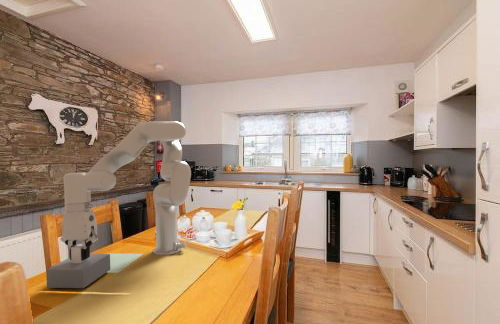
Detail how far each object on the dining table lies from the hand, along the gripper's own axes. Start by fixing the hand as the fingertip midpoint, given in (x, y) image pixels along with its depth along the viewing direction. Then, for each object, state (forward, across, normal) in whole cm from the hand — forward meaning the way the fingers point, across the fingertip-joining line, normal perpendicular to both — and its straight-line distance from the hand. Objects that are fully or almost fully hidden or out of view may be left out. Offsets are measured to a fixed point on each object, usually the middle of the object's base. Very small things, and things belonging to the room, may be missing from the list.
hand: (80, 258), depth 84 cm
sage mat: (+9, -1, -15) cm, 17 cm away
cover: (+7, 0, 0) cm, 7 cm away
